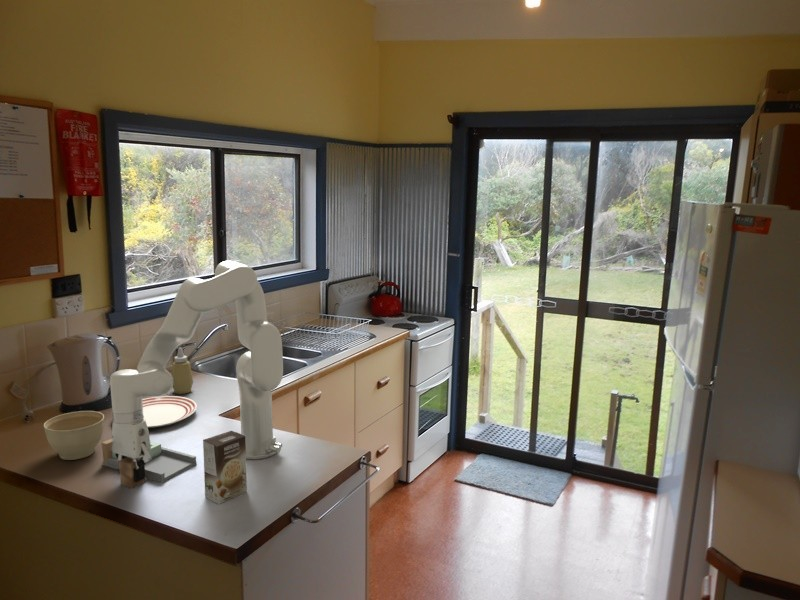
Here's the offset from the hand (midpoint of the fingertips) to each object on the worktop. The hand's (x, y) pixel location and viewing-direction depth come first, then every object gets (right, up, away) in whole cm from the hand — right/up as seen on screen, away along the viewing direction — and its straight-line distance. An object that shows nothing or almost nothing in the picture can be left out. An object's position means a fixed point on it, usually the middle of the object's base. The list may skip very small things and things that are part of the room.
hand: (132, 477), depth 169 cm
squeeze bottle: (-12, +12, +73) cm, 75 cm away
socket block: (-4, +2, +13) cm, 14 cm away
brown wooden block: (0, -2, 0) cm, 2 cm away
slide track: (0, +1, +11) cm, 11 cm away
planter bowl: (-25, +2, +18) cm, 30 cm away
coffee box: (+27, -3, -5) cm, 28 cm away
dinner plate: (-12, +7, +47) cm, 49 cm away
